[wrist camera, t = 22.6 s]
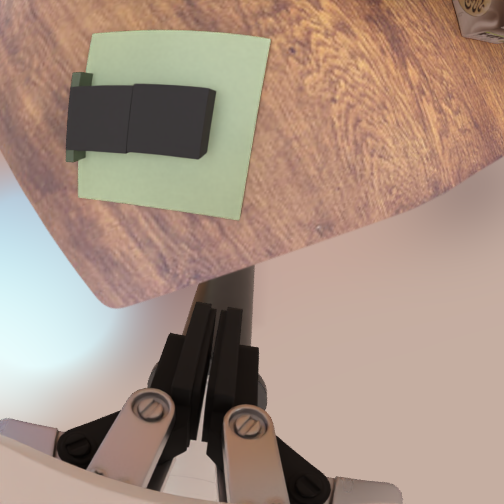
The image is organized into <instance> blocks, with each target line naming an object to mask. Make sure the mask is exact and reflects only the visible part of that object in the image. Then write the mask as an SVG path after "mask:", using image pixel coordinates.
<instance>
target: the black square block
mask: <svg viewBox="0 0 504 504" xmlns="http://www.w3.org/2000/svg"><path fill="white" fill-rule="evenodd" d="M133 86H134V85H101V86H76V87H71V88H70V97H69V108H68V120H67V136H66V150H76V151H94V152H108V153H121V154H127V153H129V152H127V139H128V128H129V118H130V109H131V101H132V93H133Z"/></svg>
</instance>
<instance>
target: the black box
mask: <svg viewBox="0 0 504 504" xmlns="http://www.w3.org/2000/svg"><path fill="white" fill-rule="evenodd" d="M215 97H216V91H215V90H212V89H210V88H204V87H193V86H180V85H164V84H134V86H133V93H132V101H131V109H130V118H129V128H128V139H127V152H133V153H144V154H154V155H164V156H173V157H181V158H189V159H197V160H199V159H200V158H201V157H203V156H204V155H205V154H206V153H207V150H208V142H209V136H210V129H211V122H212V116H213V109H214V103H215Z"/></svg>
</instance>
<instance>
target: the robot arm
mask: <svg viewBox="0 0 504 504" xmlns="http://www.w3.org/2000/svg"><path fill="white" fill-rule="evenodd" d="M216 310H217V309H213V308H211V304H207V303H202V302H196V304H195V308H194V311H193V314H192V317H191V321H190V324H189V327H188V331H187V334H186V336H184V335H178V334H173V333H170V334H169V336H168V338H167V341H166V344H165V347H164V349H163V352H162V355H161V358H160V360H159V363H158V366H157V369H156V372H155V375H154V377H153V380H152V383H151V386H150V388H144V389H140V390H137V391H136V392H134V393H132V395H131V396H130V397H129V398H128V400H127V401H126V403H125V405H124V406H123V408H122V410H120V411H118V412H115V413H113V414H110V415H108V416H105V417H102V418H100V419H97V420H95V421H92V422H90V423H87V424H84V425H81V426H78V427H75V428H73V429H70V430H68V431H66V432H61V431H58V430H57V428H52V427H47V426H42V425H37V424H32V423H27V422H23V421H19V420H14V419H9V418H8V419H7V418H5V419H2V420H0V504H402V493H401V492H400V490H399V489H398V488H397V487H396V486H395V485H393V484H390V483H385V482H374V481H365V480H357V479H350V478H343V477H335V478H329V477H326V476H325V475H324V474H323V473H321V472H320V471H319V470H318V469H317V468H315V467H314V466H313V465H311V464H310V463H309V462H308V461H306V460H305V459H304V458H303V457H301V456H300V455H299V454H298V453H296V452H295V451H294V450H293V449H292V448H290V447H289V446H288V445H286V444H285V443H284V442H283V441H282V440H281V439H280V438H279V437H277V436H276V435H275V430H274V426H273V422H272V419H271V417H270V416H269V415H268V413H267V412H266V411H264V410H263V409H261V408H259V407H258V364H259V348H258V347H251V346H244V345H239V344H240V333H241V322H242V311H243V309H238V308H232V307H228V309H227V311H225V310H221V314H220V319H219V325H218V330H217V336H216V341H215V347H214V352H213V358H212V363H211V369H210V374H209V375H208V372H209V366H210V359H211V351H212V343H213V334H214V326H215V318H216Z"/></svg>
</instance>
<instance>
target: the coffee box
mask: <svg viewBox="0 0 504 504" xmlns="http://www.w3.org/2000/svg"><path fill="white" fill-rule="evenodd" d="M452 1H453V4H454V8H455V11H456V15H457V18H458V22H459V26H460V30H461V34H462V36H463V37H466V38H471V39H476V40H481V41H485V42H490V43H494V44H499V43H504V0H452Z"/></svg>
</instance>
